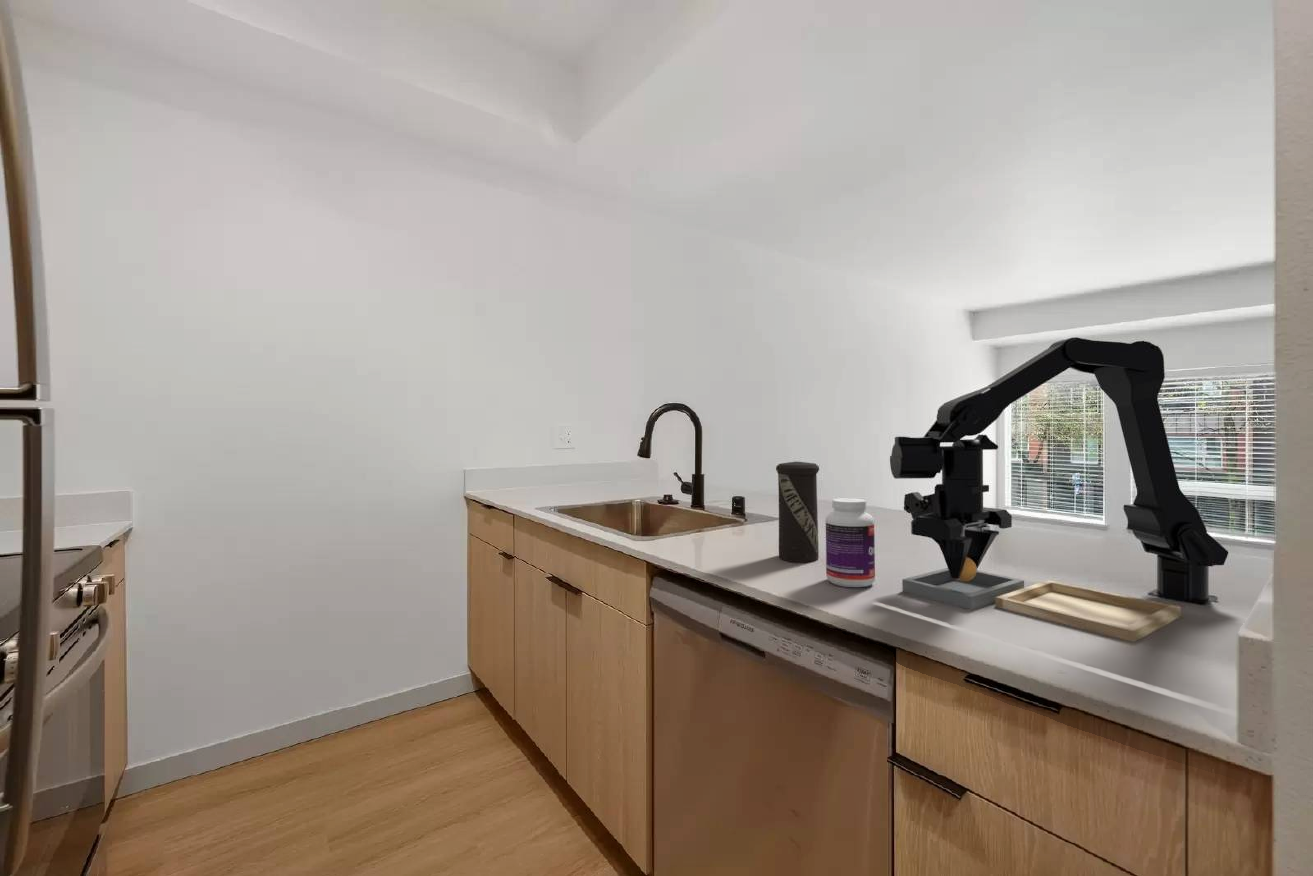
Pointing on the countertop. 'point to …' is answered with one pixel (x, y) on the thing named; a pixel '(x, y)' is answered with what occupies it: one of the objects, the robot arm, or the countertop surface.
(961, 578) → the ball
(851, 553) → the pill bottle
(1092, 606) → the dish
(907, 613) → the countertop surface
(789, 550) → the container
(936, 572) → the tray
